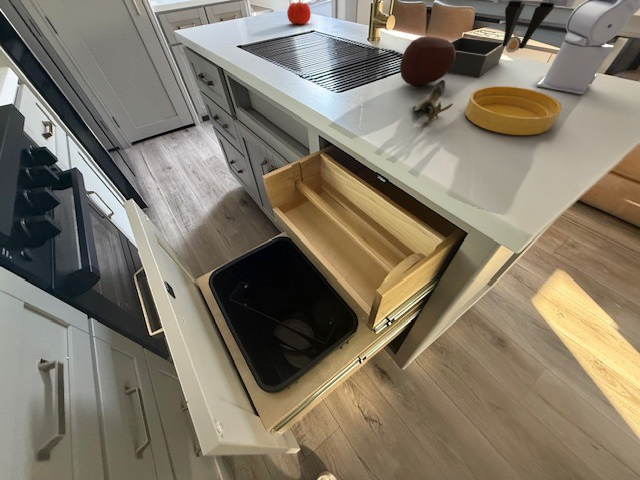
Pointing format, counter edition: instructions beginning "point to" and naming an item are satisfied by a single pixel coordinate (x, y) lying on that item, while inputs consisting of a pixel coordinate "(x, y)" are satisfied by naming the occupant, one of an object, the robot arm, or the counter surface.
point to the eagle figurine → (433, 102)
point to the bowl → (512, 110)
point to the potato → (426, 60)
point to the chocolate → (513, 43)
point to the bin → (475, 56)
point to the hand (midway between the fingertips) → (513, 46)
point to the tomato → (298, 13)
